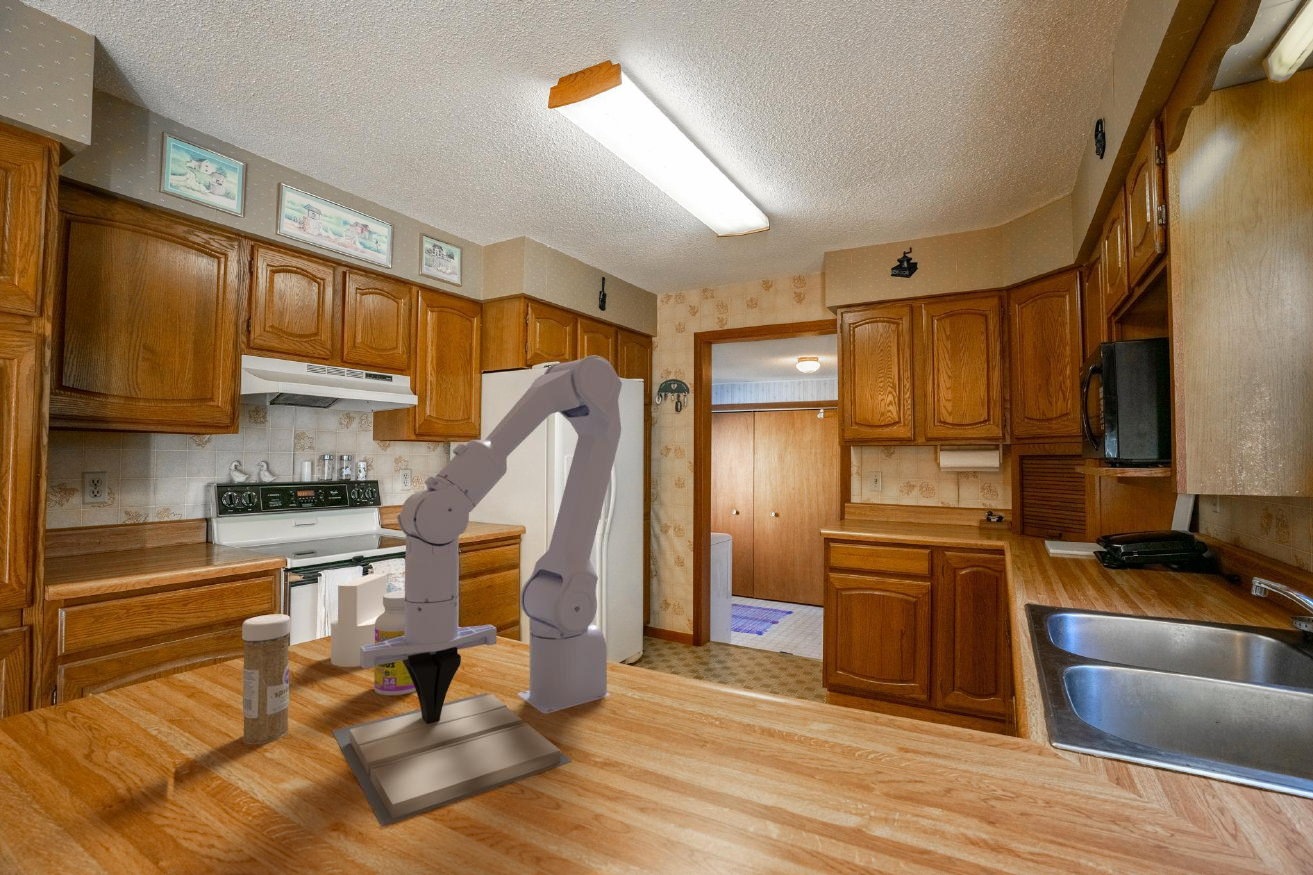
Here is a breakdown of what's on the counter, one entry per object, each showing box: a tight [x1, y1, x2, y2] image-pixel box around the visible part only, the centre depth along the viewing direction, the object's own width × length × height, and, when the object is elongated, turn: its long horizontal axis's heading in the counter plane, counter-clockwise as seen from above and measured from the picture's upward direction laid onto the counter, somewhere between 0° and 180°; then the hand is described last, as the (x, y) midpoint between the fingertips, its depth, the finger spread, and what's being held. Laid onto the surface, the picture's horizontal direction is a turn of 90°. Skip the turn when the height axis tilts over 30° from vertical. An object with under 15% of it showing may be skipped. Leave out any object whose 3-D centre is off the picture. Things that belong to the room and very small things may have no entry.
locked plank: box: [371, 722, 561, 818], centre depth 61 cm, size 16×8×1 cm, turn 127°
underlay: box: [331, 692, 572, 827], centre depth 67 cm, size 18×22×1 cm
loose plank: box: [350, 693, 523, 775], centre depth 69 cm, size 16×8×1 cm, turn 127°
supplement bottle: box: [373, 589, 416, 696], centre depth 84 cm, size 7×7×13 cm
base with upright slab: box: [330, 573, 388, 668], centre depth 98 cm, size 9×9×12 cm
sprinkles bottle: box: [241, 613, 291, 745], centre depth 70 cm, size 5×5×14 cm
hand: (431, 719), depth 70 cm, fingers closed, pressing on loose plank
